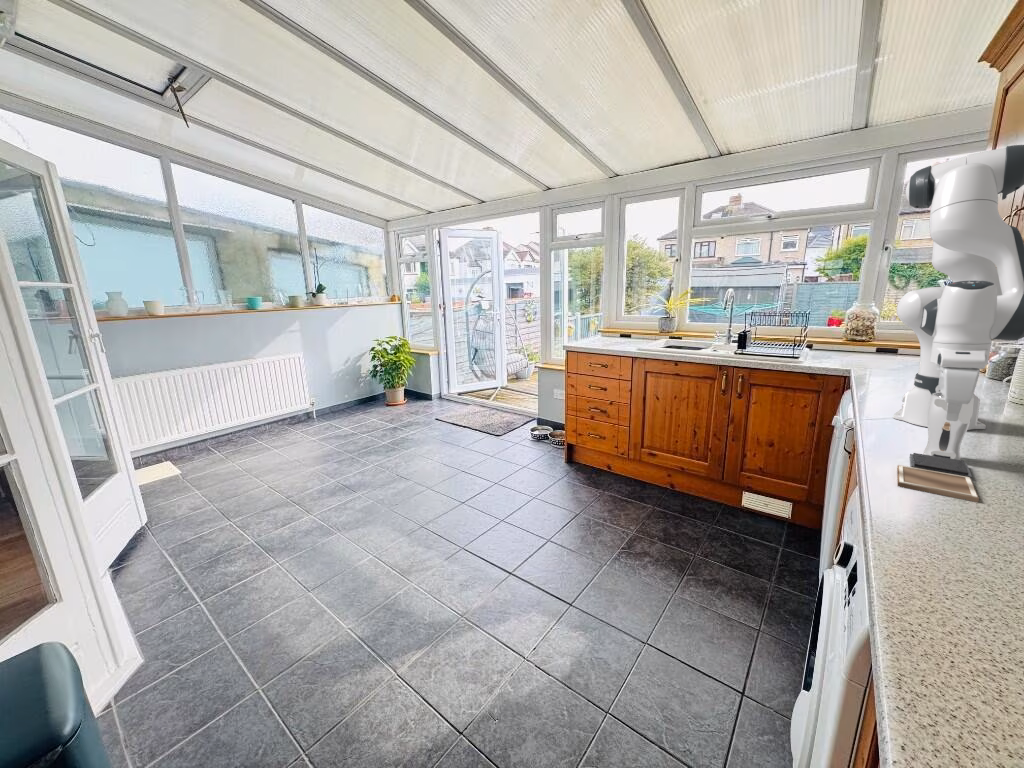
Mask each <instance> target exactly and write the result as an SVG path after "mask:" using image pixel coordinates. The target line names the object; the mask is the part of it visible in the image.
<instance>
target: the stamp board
mask: <svg viewBox="0 0 1024 768" xmlns="http://www.w3.org/2000/svg"><path fill="white" fill-rule="evenodd" d="M896 469H897V471H896V475H897V480H896V481H897V487H898V486H900V487H899V488H903V487H904V489H908V488H910V489H909V490H914V491H919V490H920V491H919V492H924V491H925V492H924V493H929V492H930V494H933V495H939V496H944V497H948V498H954V499H959V498H960V499H959V500H964V499H966V500H965V501H969V500H970V501H969V502H974V503H979V499H980V498H979V495H978V492H977V490H976V487H975V486H974V483H973V480H972V479H971V478H970V477H966V476H960V475H954V474H948V473H943V472H937V471H931V470H925V469H920V468H914V467H910V466H907V465H902V464H898V465H897V467H896Z"/></svg>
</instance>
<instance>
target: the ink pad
mask: <svg viewBox="0 0 1024 768" xmlns="http://www.w3.org/2000/svg"><path fill="white" fill-rule="evenodd" d="M909 467H914V468H920V469H925V470H931V471H937V472H943V473H948V474H954V475H960V476H966V477H970V478H971V480H972V479H973V475H972V473H971V471H970V468H969V466H968V463H967V462H966V461H965V460H956V459H950V458H943V457H937V456H931V455H924V454H923V453H916V452H912V453H910V454H909Z"/></svg>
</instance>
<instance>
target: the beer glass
mask: <svg viewBox="0 0 1024 768" xmlns="http://www.w3.org/2000/svg"><path fill="white" fill-rule="evenodd" d="M973 402H974V397H972V399H971V401H970V403H969V404H962V408H961V410H960V413H959V417H958V420H957V421H948V420H947V419H946V411H947V402H945V400H944V398H943V396H942V393H933V394H932V398H931V401H930V404H929V409H928V415H927V424H928V427H927V436H928V437H927V438H928V439H927V444H926V447H925V448H924V450H923V453H922V454H924V455H931V456H937V457H943V458H950V459H956V460H961V459H962V458H961V457H962V456H961V445H962V443H963V440H964V438H965V436H966V434H967V431H969V430H968V427H969V425H970V422H971V418H972V413H973Z"/></svg>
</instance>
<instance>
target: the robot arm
mask: <svg viewBox="0 0 1024 768" xmlns="http://www.w3.org/2000/svg"><path fill="white" fill-rule="evenodd" d="M1023 186H1024V144H1016V145H1008V146H1006V147H1003V148H997V149H990V150H985V151H980V152H975V153H971V154H967V155H966V156H962V157H959V158H958V157H957V158H954V159H951V160H948V161H945V162H941V163H939V164H935V165H929V166H925V167H923V168H921V169H918V170H916V171H915V172H913V174H912V175H911V176H910V178H909V180H908V182H907V184H906V188H905V198H906V200H907V202H908V204H909V206H910V207H912V208H914V209H929V208H930V211H929V214H930V215H929V225H928V226H929V227H928V229H929V237H930V238H931V240H932V255H931V265H932V267H933V268H934V270H936V271H937V272H938V273H941V274H944V275H946V276H948V277H949V278H950V279H951V281H952V282H951V283H948V284H946V285H945V286H930V287H925V288H919V289H914V290H911V291H908V292H906V293H905V294H904V295H903V296H902V297H901V298H900V300H898V303H897V306H896V314H897V317H898V318H899V320H900V321H901V323H903V324H904V325H906V326H907V327H909V329H911V330H912V331H913V333H914V334H915V335H916V337H917V339H918V342H919V346H920V347H919V348H920V349H919V350H920V352H919V354H920V355H919V366H918V371H917V373H916V374H915V375H914V376H915V377H914V379H913V380H914V381H913V388H912V389H910V390H908V391H907V392H906V393H905V394H904V395H903V396H902V399H901V401H902V403H903V404H902V405H901V408H900V409H899V410H897V411H896V412H895V413H894V414H893V416H892V418H893V419H895V420H899V421H903V422H906V423H909V424H911V425H912V424H913V425H916V426H921V427H927V428H928V424H927V415H928V409H929V404H930V401H931V398H932V394H933V393H942V396H943V398H944V400H945V402H947V411H946V419H947V420H948V421H957V420H958V417H959V413H960V410H961V408H962V404H969V403H970V401H971V399H972V397H974V402H973V413H972V418H971V422H970V425H969V427H968V430H967V431H971V430H986V427H987V426H986V424H984V423H982V422H981V421H979V420H978V419H979V414H980V413H979V412H980V406H981V405H980V404H981V399H980V398H979V397H978V396H977V395H975V391H976V387H977V384H978V381H979V377H980V371H981V370H984V369H985V367H986V366H987V365H988V364H989V361H990V360H989V359H990V352H991V346H992V340H999V341H1000V340H1002V341H1018V340H1022V339H1024V239H1023V236H1022V233H1021V231H1020V230H1019V229H1018V227H1016V226H1012V225H1010V224H1008V223H1006V222H1005V221H1004V219H1003V218H1002V217H1001V215H1000V213H999V209H998V208H999V195H1000V194H1001V200H1002V201H1003V200H1006V199H1007V196H1009V194H1012V193H1014V192H1016V191H1018V190H1019V189H1021V188H1022V187H1023Z"/></svg>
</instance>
